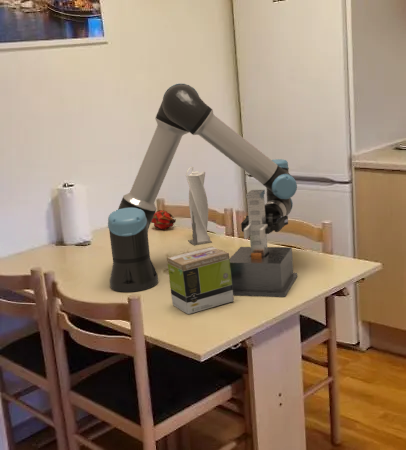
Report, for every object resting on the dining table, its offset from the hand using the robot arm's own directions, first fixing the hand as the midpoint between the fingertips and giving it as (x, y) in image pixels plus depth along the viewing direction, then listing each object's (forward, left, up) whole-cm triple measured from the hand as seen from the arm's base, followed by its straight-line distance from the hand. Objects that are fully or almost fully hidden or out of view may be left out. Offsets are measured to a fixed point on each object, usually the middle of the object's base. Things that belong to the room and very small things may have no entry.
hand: (253, 234), depth 200 cm
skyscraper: (+25, +58, -18) cm, 65 cm away
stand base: (+5, +3, -17) cm, 18 cm away
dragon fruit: (+28, +86, -18) cm, 92 cm away
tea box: (-16, +5, -18) cm, 25 cm away
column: (+5, +3, -14) cm, 15 cm away
